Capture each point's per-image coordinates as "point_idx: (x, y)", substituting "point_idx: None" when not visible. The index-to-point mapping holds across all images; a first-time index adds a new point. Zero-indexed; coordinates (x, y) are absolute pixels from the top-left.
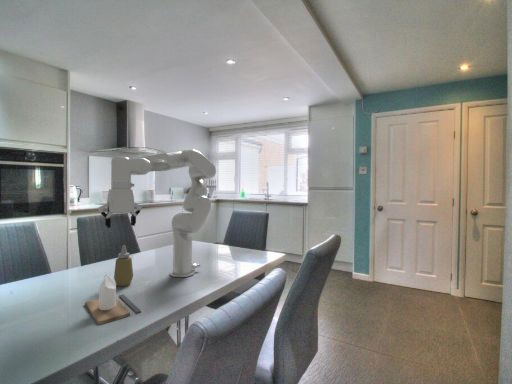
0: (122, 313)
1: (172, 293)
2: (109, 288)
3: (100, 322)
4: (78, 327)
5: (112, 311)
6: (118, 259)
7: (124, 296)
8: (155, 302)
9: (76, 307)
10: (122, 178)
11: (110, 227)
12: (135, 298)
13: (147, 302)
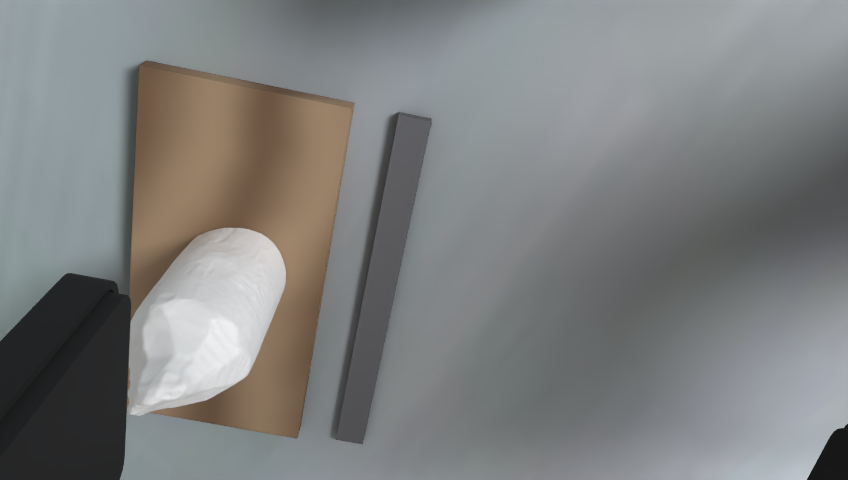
0: (261, 416)
1: (681, 363)
2: (182, 404)
3: None
4: None
5: None
6: None
7: (413, 172)
8: (504, 394)
9: (85, 61)
10: None
11: (120, 471)
12: (459, 242)
13: (471, 358)
